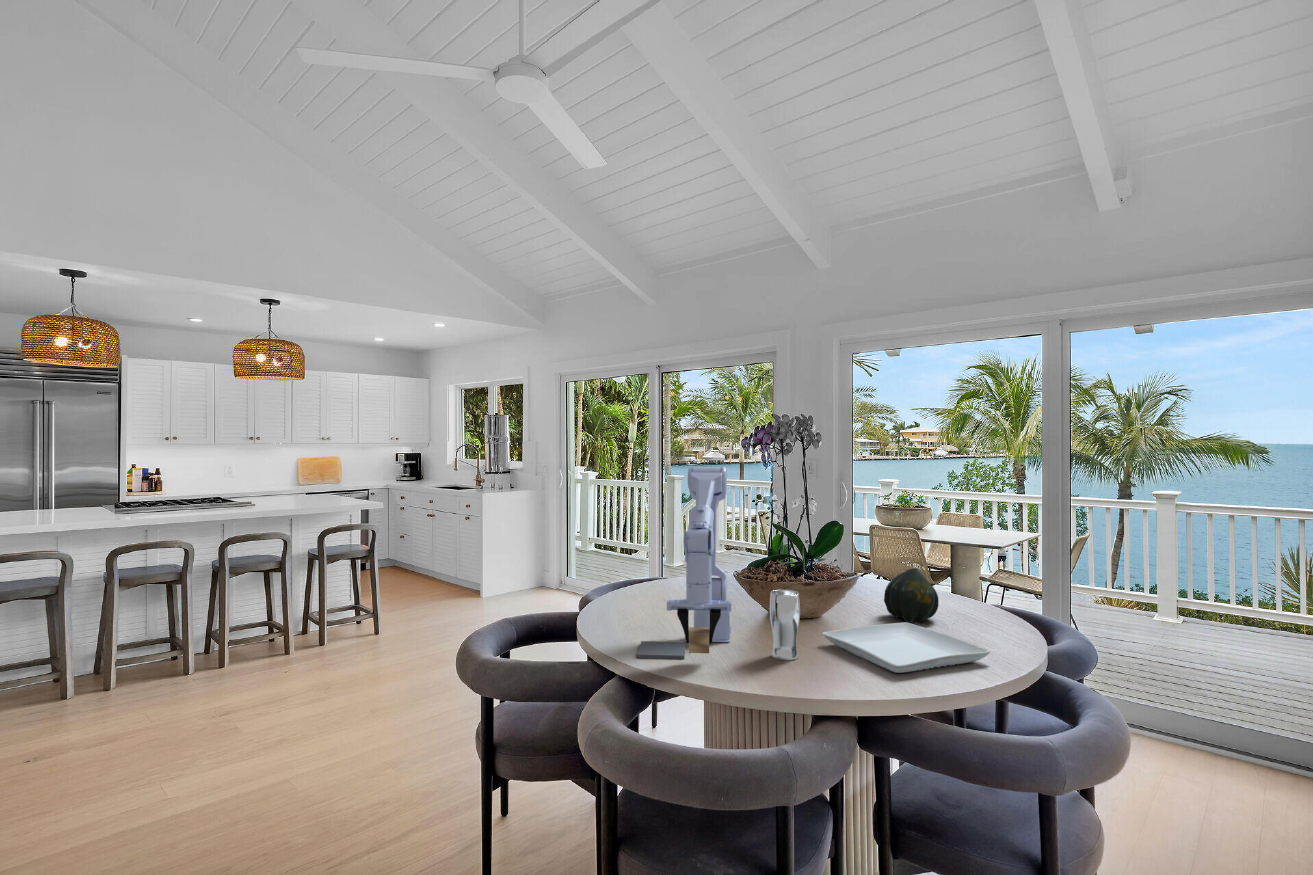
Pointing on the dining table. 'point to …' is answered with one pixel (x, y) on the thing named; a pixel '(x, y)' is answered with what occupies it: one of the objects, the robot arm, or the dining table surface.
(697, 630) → the oak cube
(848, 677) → the dining table surface
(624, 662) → the dining table surface
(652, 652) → the charcoal mat
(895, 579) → the squash
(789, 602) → the beer glass
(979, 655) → the square plate
